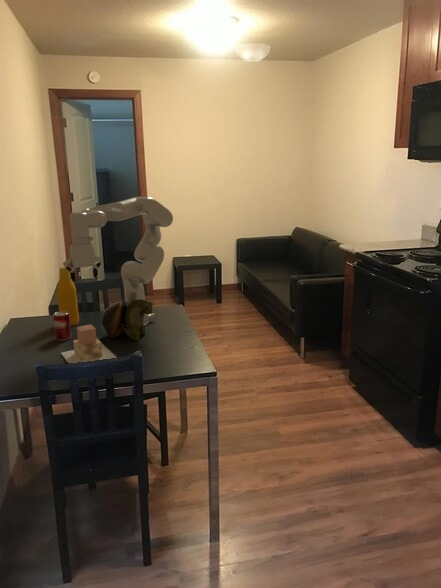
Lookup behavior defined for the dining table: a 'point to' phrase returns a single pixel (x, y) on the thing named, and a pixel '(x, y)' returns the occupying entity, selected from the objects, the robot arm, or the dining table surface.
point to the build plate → (72, 358)
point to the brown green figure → (126, 318)
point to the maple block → (87, 350)
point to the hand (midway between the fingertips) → (84, 279)
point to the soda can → (62, 325)
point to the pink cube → (86, 334)
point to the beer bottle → (67, 296)
